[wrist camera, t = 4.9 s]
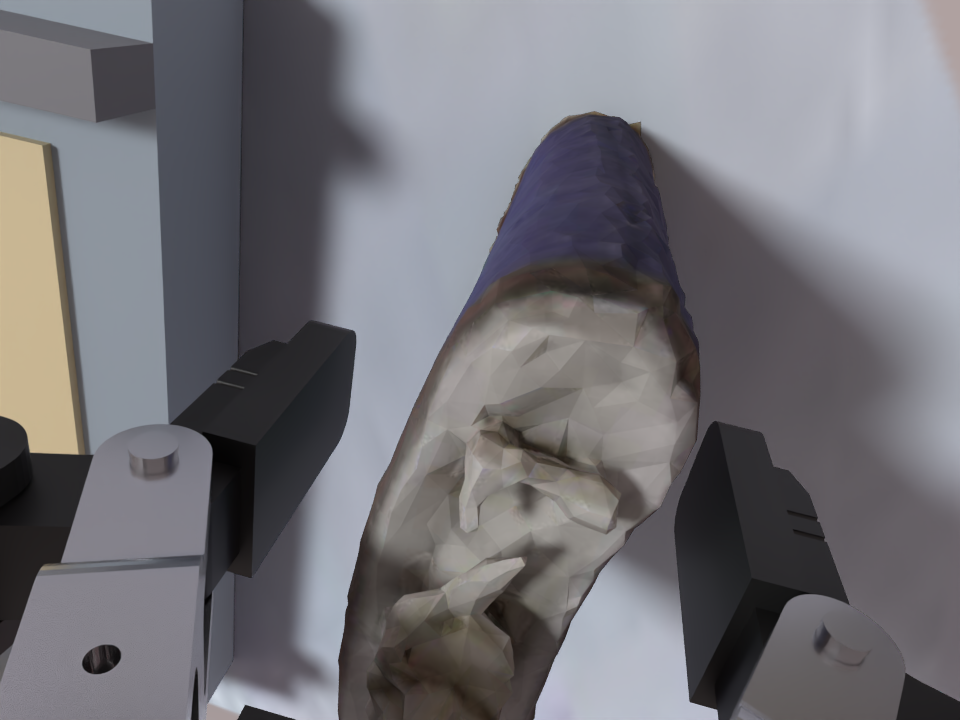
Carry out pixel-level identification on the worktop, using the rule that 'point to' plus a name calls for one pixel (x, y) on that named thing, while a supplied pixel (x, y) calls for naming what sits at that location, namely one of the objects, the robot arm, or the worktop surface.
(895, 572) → the worktop surface
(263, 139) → the worktop surface
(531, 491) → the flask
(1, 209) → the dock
